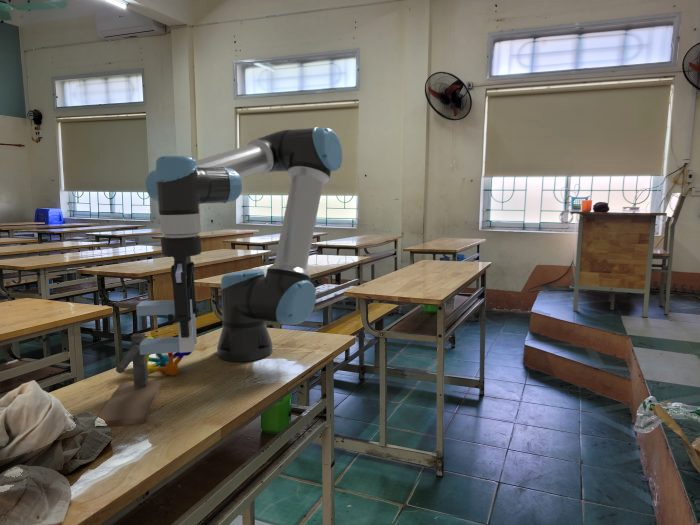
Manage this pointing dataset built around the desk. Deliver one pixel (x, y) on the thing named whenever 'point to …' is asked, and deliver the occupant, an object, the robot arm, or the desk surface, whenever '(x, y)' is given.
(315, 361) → the desk surface
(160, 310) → the c link
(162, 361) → the molecular model
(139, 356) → the stand
